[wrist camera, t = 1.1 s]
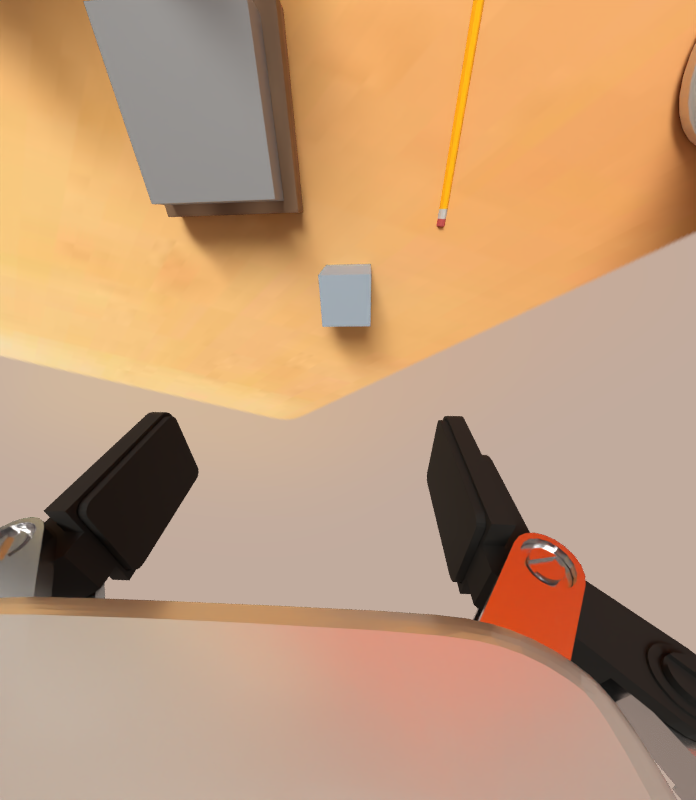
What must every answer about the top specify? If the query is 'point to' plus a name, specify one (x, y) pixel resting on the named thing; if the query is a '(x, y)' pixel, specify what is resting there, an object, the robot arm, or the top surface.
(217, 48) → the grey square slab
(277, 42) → the walnut base slab
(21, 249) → the top surface
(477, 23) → the pencil
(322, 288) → the slate block
